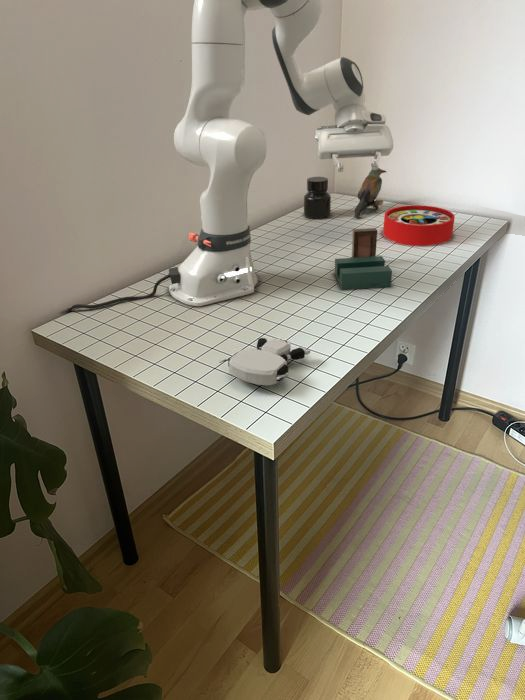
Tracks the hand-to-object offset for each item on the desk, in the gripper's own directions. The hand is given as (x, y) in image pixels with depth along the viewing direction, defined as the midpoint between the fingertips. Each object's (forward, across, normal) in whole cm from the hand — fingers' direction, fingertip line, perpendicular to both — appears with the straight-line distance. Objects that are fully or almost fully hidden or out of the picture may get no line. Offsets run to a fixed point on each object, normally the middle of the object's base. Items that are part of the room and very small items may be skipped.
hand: (357, 169), depth 148 cm
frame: (+24, 0, +6) cm, 25 cm away
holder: (+32, -3, -2) cm, 32 cm away
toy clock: (+11, +20, +20) cm, 31 cm away
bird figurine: (-8, +12, +39) cm, 41 cm away
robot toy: (+60, -29, -29) cm, 73 cm away
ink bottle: (-6, -6, +37) cm, 38 cm away
